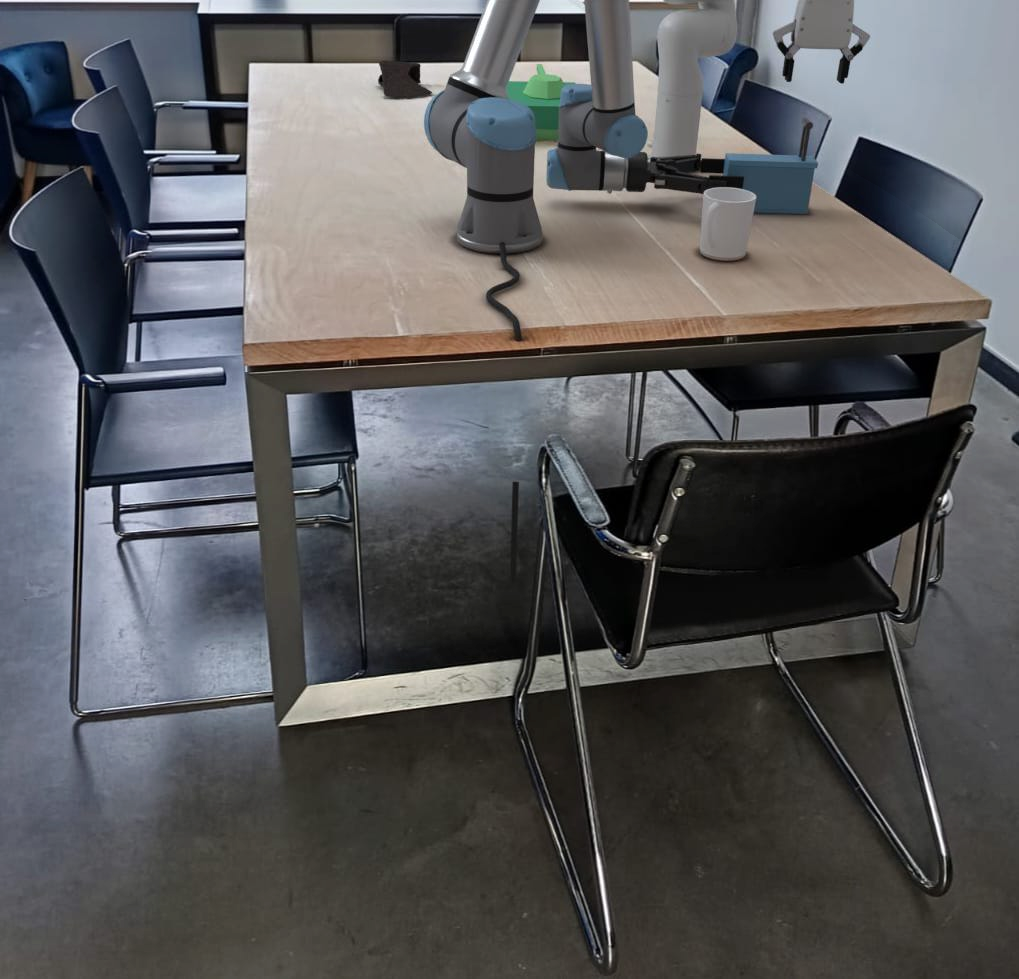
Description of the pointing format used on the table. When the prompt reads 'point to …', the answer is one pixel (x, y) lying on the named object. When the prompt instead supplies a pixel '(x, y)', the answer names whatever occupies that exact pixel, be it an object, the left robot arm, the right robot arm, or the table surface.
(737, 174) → the chest
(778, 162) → the lid
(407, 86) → the axe head
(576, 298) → the table surface
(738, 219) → the mug
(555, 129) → the toy tank
